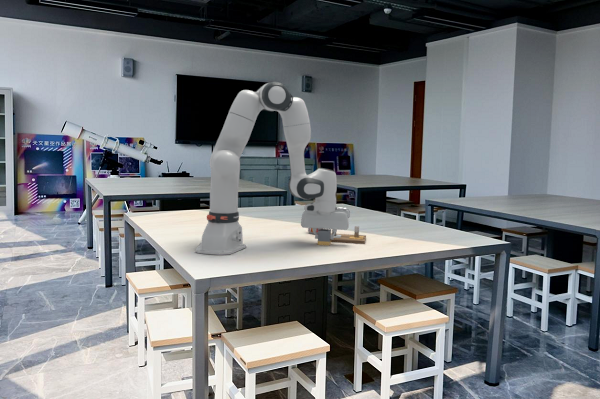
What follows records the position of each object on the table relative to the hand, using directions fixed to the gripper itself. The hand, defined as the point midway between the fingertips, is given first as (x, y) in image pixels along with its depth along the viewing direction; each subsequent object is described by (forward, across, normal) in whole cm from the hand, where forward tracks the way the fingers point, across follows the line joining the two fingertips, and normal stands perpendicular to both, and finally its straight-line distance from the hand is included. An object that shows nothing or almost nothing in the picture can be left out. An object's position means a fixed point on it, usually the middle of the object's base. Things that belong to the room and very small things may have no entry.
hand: (324, 239), depth 212 cm
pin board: (+2, -8, -12) cm, 15 cm away
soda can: (+2, +7, -24) cm, 25 cm away
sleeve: (+2, 0, 0) cm, 2 cm away
